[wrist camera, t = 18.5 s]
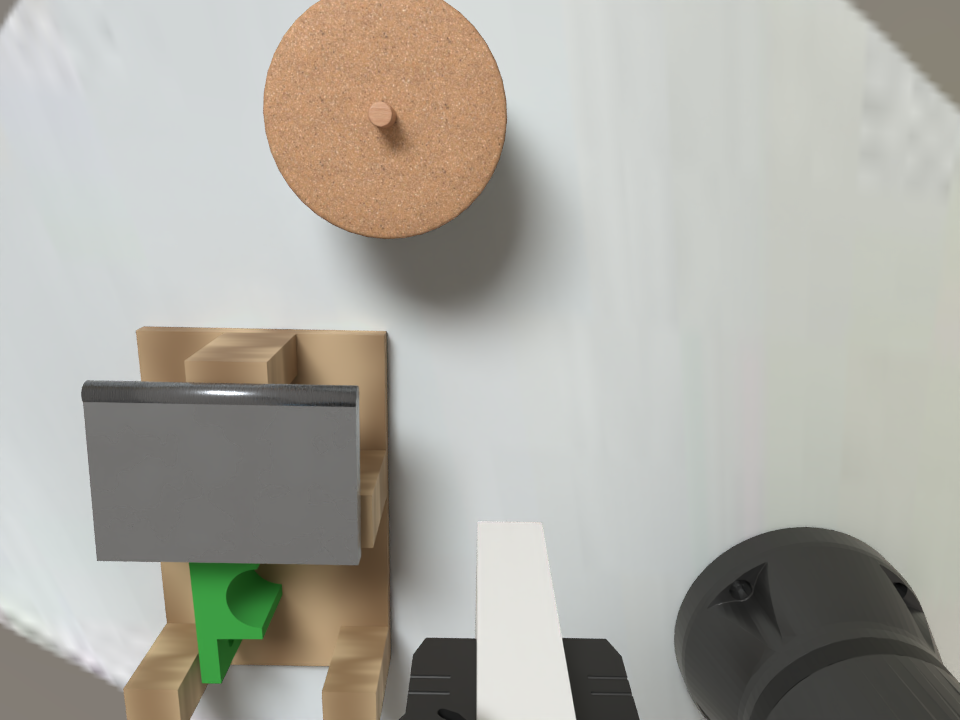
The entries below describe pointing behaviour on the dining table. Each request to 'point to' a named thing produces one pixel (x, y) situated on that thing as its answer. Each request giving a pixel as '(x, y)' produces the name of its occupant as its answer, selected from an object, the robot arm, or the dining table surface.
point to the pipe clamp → (229, 611)
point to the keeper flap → (224, 472)
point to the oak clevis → (305, 587)
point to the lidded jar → (385, 114)
